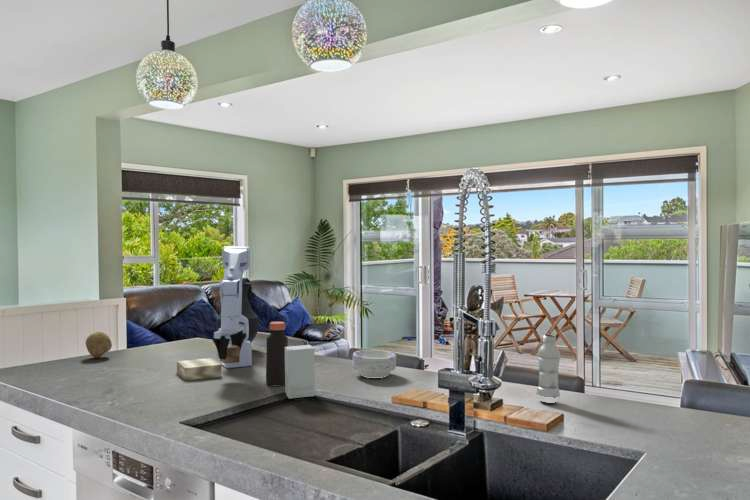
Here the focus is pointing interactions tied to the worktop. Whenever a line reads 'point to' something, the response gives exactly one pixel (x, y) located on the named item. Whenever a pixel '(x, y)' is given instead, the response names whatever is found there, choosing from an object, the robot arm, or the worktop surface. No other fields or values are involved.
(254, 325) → the pitcher
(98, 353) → the natural sponge
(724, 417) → the worktop surface
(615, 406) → the worktop surface
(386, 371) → the grey stone bowl
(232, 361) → the walnut cube
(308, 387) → the skincare box
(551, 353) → the plastic bottle
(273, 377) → the vinegar
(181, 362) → the birch pedestal
